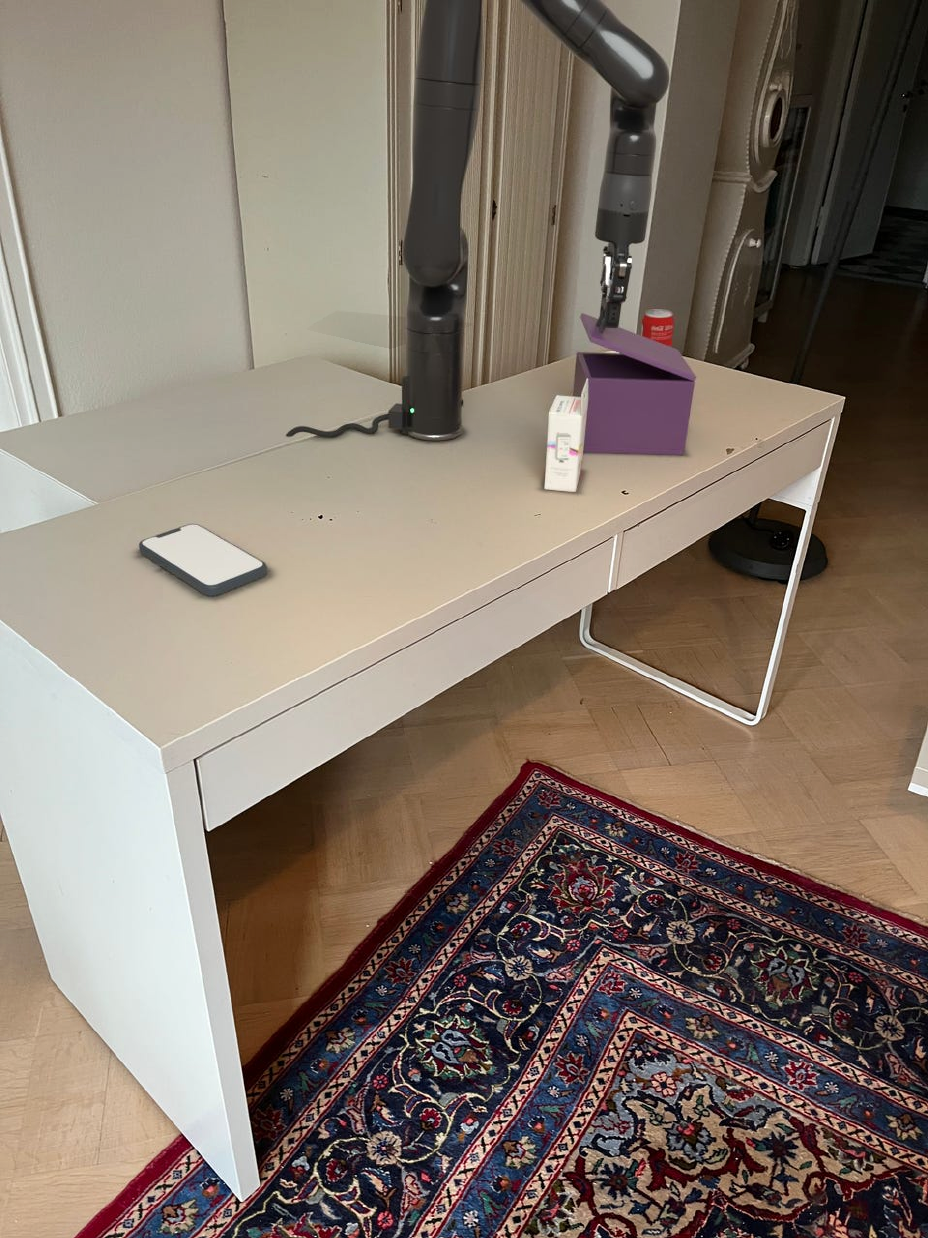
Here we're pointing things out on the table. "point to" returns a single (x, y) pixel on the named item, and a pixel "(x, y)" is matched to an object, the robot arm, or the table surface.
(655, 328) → the beverage can
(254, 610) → the table surface
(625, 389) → the box
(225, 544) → the smartphone
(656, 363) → the lid
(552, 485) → the ink cartridge box
